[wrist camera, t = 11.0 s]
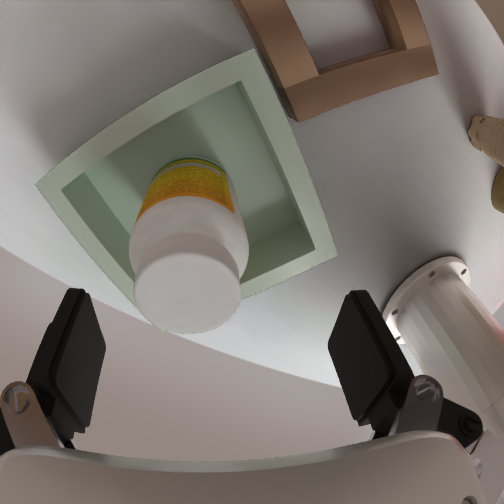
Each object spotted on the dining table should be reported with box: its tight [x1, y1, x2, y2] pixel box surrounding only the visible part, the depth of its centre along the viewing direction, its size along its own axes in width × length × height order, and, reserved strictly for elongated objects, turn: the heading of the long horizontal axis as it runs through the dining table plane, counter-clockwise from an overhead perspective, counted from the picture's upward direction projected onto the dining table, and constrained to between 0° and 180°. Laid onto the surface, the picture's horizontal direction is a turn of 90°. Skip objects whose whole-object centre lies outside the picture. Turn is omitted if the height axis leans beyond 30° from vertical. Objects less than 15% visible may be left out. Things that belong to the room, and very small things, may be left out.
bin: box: [35, 48, 338, 333], centre depth 18 cm, size 13×13×4 cm
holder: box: [233, 0, 438, 122], centre depth 13 cm, size 11×11×2 cm
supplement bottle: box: [129, 156, 249, 334], centre depth 15 cm, size 5×5×10 cm
